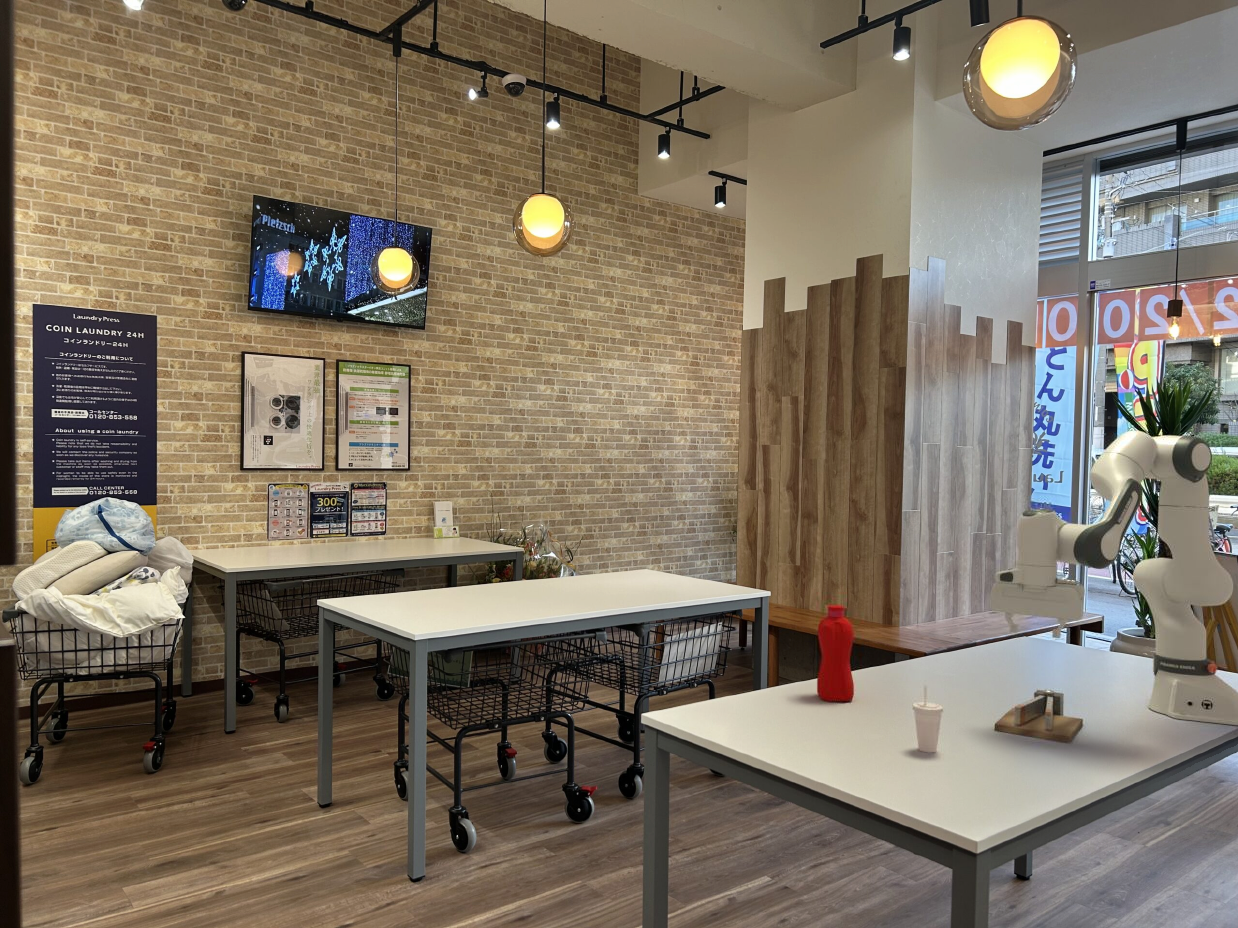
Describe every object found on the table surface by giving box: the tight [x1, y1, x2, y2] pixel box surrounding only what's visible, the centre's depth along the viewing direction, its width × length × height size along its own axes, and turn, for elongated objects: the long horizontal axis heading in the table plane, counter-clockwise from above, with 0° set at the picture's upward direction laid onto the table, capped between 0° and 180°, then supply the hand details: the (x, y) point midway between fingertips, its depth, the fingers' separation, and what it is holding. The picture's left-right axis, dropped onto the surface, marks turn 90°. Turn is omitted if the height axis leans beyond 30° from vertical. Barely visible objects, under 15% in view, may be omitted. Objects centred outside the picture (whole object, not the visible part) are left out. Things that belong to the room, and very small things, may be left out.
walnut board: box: [994, 707, 1084, 744], centre depth 212 cm, size 16×18×2 cm
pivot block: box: [1033, 689, 1065, 716], centre depth 221 cm, size 6×4×7 cm, turn 54°
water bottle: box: [816, 604, 855, 703], centre depth 238 cm, size 9×11×25 cm
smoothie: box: [912, 685, 944, 753], centre depth 194 cm, size 6×6×14 cm
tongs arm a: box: [1045, 697, 1053, 730], centre depth 211 cm, size 16×1×4 cm, turn 153°
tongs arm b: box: [1014, 695, 1045, 725], centre depth 213 cm, size 16×1×4 cm, turn 135°
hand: (1034, 634), depth 210 cm, fingers open, 8 cm apart
